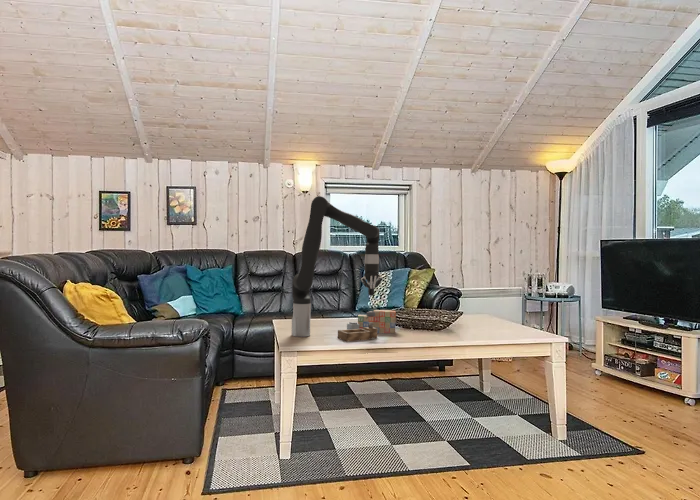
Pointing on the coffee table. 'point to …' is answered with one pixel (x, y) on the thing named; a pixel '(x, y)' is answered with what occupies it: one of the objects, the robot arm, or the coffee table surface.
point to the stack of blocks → (379, 321)
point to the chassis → (358, 333)
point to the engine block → (352, 325)
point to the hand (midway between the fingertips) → (371, 295)
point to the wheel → (371, 314)
